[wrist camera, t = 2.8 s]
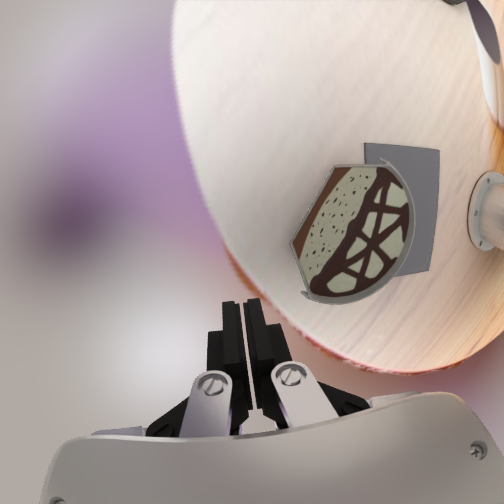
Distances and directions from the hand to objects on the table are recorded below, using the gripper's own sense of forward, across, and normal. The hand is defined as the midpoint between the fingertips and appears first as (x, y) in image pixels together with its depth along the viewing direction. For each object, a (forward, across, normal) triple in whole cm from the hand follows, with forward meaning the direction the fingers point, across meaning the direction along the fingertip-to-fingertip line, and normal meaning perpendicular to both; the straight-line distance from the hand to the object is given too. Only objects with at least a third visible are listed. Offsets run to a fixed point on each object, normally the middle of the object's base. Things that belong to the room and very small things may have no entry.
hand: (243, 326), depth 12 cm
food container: (+16, -11, 0) cm, 20 cm away
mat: (+16, -20, 0) cm, 25 cm away
